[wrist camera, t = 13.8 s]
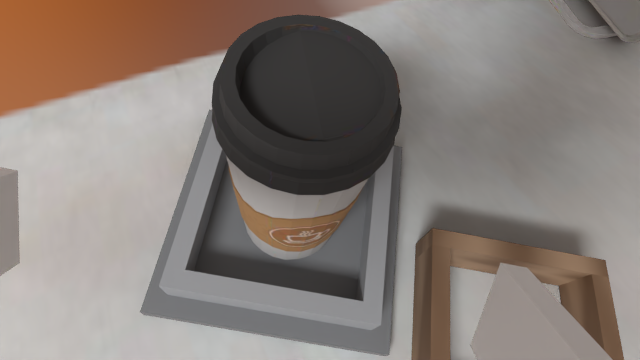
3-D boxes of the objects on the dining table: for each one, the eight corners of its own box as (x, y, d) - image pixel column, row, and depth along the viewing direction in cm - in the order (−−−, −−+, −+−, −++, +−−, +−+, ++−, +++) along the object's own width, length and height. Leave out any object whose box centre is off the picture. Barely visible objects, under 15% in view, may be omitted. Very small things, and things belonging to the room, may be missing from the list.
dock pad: (398, 153, 35) (411, 130, 32) (385, 356, 27) (400, 351, 24) (210, 116, 34) (205, 89, 31) (144, 314, 27) (128, 304, 23)
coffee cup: (236, 285, 27) (212, 180, 14) (226, 174, 31) (199, 8, 18) (357, 267, 29) (439, 156, 16) (333, 164, 32) (383, 4, 19)
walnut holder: (571, 272, 32) (605, 260, 29) (600, 465, 26) (645, 475, 23) (415, 244, 31) (432, 228, 28) (408, 434, 25) (429, 439, 22)
